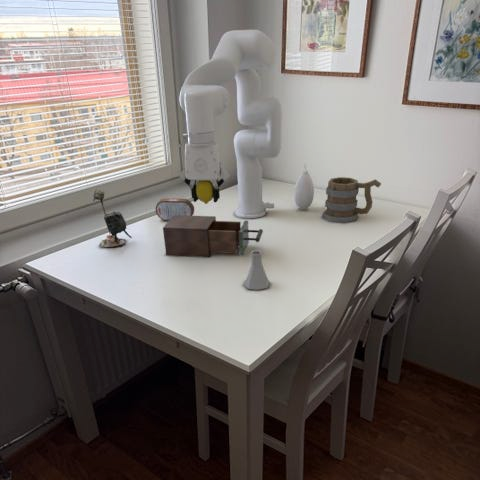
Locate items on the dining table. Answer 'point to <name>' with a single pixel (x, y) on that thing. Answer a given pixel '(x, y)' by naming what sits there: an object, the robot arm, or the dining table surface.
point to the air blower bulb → (304, 190)
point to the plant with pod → (112, 224)
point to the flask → (256, 273)
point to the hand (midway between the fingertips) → (205, 200)
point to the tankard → (346, 199)
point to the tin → (173, 208)
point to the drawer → (230, 236)
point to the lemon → (204, 190)
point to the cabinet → (188, 235)
